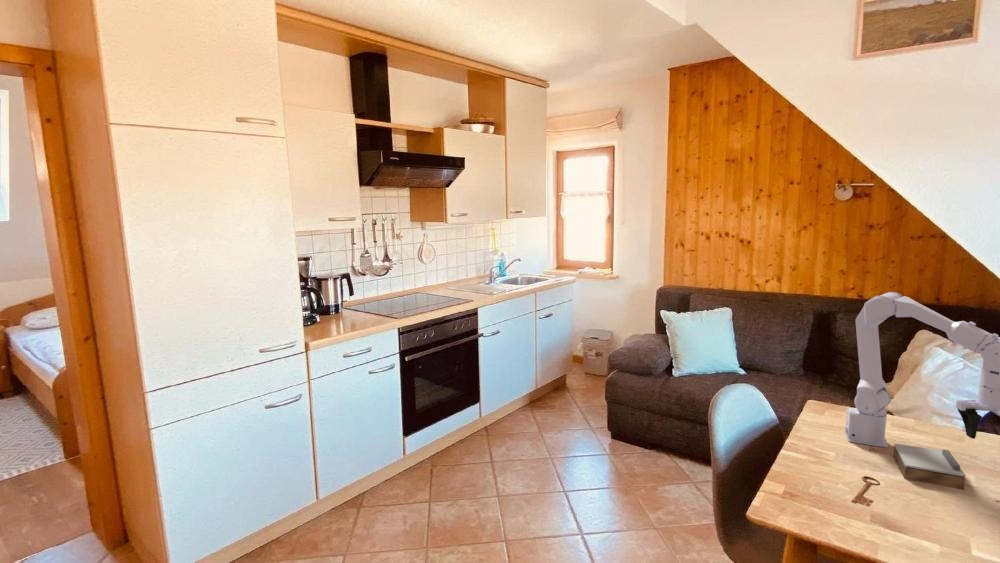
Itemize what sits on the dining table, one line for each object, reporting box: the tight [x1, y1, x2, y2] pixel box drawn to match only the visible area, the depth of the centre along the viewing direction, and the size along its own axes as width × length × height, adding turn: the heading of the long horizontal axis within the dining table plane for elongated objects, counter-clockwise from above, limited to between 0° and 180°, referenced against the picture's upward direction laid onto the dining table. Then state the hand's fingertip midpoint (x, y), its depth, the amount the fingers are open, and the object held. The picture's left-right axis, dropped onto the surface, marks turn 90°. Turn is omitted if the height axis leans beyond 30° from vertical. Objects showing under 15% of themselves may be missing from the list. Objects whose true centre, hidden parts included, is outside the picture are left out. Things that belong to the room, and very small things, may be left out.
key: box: [851, 475, 881, 508], centre depth 124 cm, size 6×1×15 cm
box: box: [892, 446, 966, 490], centre depth 132 cm, size 12×13×3 cm
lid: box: [893, 443, 966, 478], centre depth 131 cm, size 12×13×2 cm
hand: (988, 437), depth 128 cm, fingers open, 7 cm apart
